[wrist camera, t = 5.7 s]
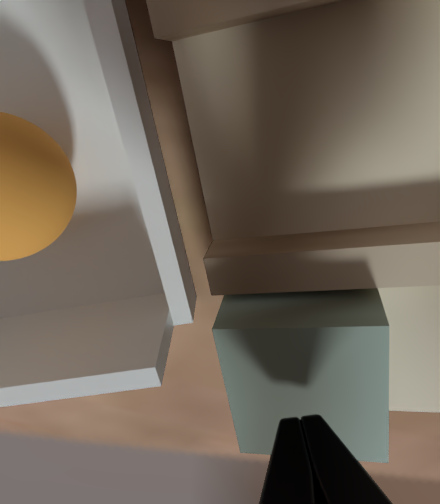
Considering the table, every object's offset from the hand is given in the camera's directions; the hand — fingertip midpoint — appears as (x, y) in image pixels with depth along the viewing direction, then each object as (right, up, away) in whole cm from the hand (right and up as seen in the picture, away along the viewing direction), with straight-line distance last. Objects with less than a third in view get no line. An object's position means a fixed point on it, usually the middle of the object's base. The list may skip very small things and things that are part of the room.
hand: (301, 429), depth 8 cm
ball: (-7, +5, +1) cm, 9 cm away
